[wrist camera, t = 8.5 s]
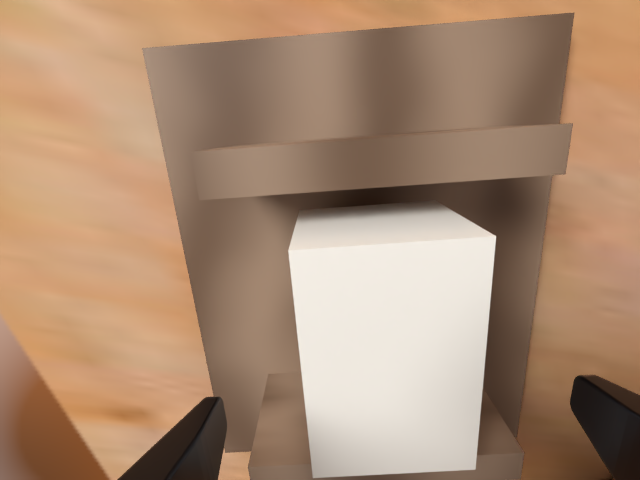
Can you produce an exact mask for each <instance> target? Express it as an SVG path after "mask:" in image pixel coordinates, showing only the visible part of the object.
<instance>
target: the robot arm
mask: <svg viewBox="0 0 640 480" xmlns="http://www.w3.org/2000/svg"><path fill="white" fill-rule="evenodd" d="M570 405H571V409H572V411H573V413H574V415H575V416H576V418H577V420H578V421H579V423H580V425H581V426H582V428H583V430H584V431H585V433H586V434H587V436H588V438H589V439H590V441H591V443H592V444H593V446H594V447H595V449H596V451H597V452H598V454H599V456H600V457H601V459H602V461H603V462H604V464H605V465H606V467H607V469H608V470H609V472H610V473H611V475H612V476H613V478H614V479H615V480H640V395H638V394H635V393H633V392H631V391H629V390H627V389H625V388H622V387H620V386H618V385H616V384H614V383H612V382H609V381H607V380H605V379H603V378H601V377H598V376H596V375H580V376H577V377H576V378H575V379H574V383H573V389H572V394H571V399H570ZM226 433H227V419H226V414H225V408H224V403H223V400H222V398H221V397H219V396H217V397H206V398H204V399H203V400H202V401H201V402H200V403H199V404H198V405H196V406H195V407H194V408H193V409H192V410H191V411H190V412H189V413H188V414H187V415H186V416H185V417H184V418H183V419H182V420H180V421H179V422H178V423H177V424H176V425H175V426H174V427H173V428H172V429H171V430H170V431H169V432H168V433H167V434H166V435H164V436H163V437H162V438H161V439H160V440H159V441H158V442H157V443H156V444H155V445H154V446H153V447H152V448H151V449H150V450H149V451H147V452H146V453H145V454H144V455H143V456H142V457H141V458H140V459H139V460H138V461H137V462H136V463H135V464H134V465H133V466H131V467H130V468H129V469H128V470H127V471H126V472H125V473H124V474H123V475H122V476H121V477H120V478H119V479H118V480H218V475H219V470H220V465H221V459H222V454H223V449H224V443H225V438H226Z"/></svg>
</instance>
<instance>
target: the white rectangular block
mask: <svg viewBox="0 0 640 480" xmlns="http://www.w3.org/2000/svg"><path fill="white" fill-rule="evenodd" d="M495 244H496V236H495V235H493V234H492V233H490V232H488V231H486V230H485V229H483V228H481V227H480V226H478V225H476V224H474V223H473V222H471V221H469V220H468V219H466V218H464V217H462V216H461V215H459V214H457V213H456V212H454V211H452V210H451V209H449V208H447V207H445V206H444V205H442V204H440V203H439V202H437V201H421V202H407V203H393V204H379V205H365V206H352V207H338V208H324V209H310V210H299V214H298V217H297V221H296V225H295V228H294V232H293V235H292V239H291V242H290V246H289V250H288V253H289V262H290V271H291V281H292V290H293V299H294V308H295V318H296V327H297V336H298V345H299V354H300V364H301V373H302V382H303V391H304V401H305V410H306V419H307V428H308V438H309V447H310V456H311V465H312V475H313V478H325V477H344V476H363V475H383V474H402V473H421V472H440V471H460V470H475V469H476V458H477V447H478V435H479V424H480V413H481V402H482V390H483V379H484V368H485V356H486V345H487V334H488V323H489V311H490V300H491V289H492V277H493V266H494V255H495Z"/></svg>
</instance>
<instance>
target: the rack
mask: <svg viewBox="0 0 640 480" xmlns="http://www.w3.org/2000/svg"><path fill="white" fill-rule="evenodd" d="M573 19H574V13H564V14H552V15H540V16H528V17H515V18H503V19H491V20H479V21H467V22H455V23H443V24H431V25H419V26H406V27H394V28H382V29H370V30H358V31H346V32H334V33H322V34H309V35H297V36H285V37H273V38H261V39H249V40H237V41H225V42H213V43H200V44H188V45H176V46H164V47H152V48H142V50H143V55H144V60H145V64H146V69H147V74H148V79H149V84H150V89H151V94H152V98H153V103H154V108H155V113H156V118H157V123H158V128H159V132H160V137H161V142H162V147H163V152H164V157H165V162H166V166H167V171H168V176H169V181H170V186H171V191H172V196H173V200H174V205H175V210H176V215H177V220H178V225H179V230H180V234H181V239H182V244H183V249H184V254H185V259H186V264H187V268H188V273H189V278H190V283H191V288H192V293H193V298H194V303H195V307H196V312H197V317H198V322H199V327H200V332H201V337H202V341H203V346H204V351H205V356H206V361H207V366H208V371H209V375H210V380H211V385H212V390H213V395H214V397H217V396H219V397H221V398H222V400H223V403H224V408H225V414H226V419H227V433H226V438H225V443H224V448H225V453H228V452H247V451H251V456H250V460H249V465H248V470H249V476H250V480H521V473H522V466H523V460H524V451H523V450H522V448H521V447H520V445H519V444H518V442H517V440H516V439H515V437H517V432H518V425H519V417H520V410H521V403H522V395H523V388H524V380H525V373H526V366H527V358H528V351H529V343H530V336H531V329H532V321H533V314H534V307H535V299H536V292H537V284H538V277H539V270H540V262H541V255H542V247H543V240H544V233H545V225H546V218H547V211H548V203H549V196H550V188H551V181H552V175H562V174H566V167H567V160H568V153H569V147H570V140H571V133H572V126H573V123H572V124H559V122H560V115H561V107H562V100H563V92H564V85H565V78H566V70H567V63H568V55H569V48H570V41H571V33H572V26H573ZM421 201H437V202H439V203H440V204H442V205H444V206H445V207H447V208H449V209H451V210H452V211H454V212H456V213H457V214H459V215H461V216H462V217H464V218H466V219H468V220H469V221H471V222H473V223H474V224H476V225H478V226H480V227H481V228H483V229H485V230H486V231H488V232H490V233H492V234H493V235H495V236H496V244H495V255H494V266H493V277H492V289H491V300H490V311H489V323H488V334H487V345H486V356H485V368H484V379H483V390H482V402H481V413H480V424H479V435H478V447H477V458H476V469H475V470H460V471H440V472H421V473H402V474H383V475H363V476H344V477H325V478H313V475H312V465H311V456H310V447H309V438H308V428H307V419H306V410H305V401H304V391H303V382H302V373H301V364H300V354H299V345H298V336H297V327H296V318H295V308H294V299H293V290H292V281H291V271H290V262H289V253H288V250H289V246H290V242H291V239H292V235H293V232H294V228H295V225H296V221H297V217H298V214H299V210H310V209H324V208H338V207H352V206H365V205H379V204H393V203H407V202H421Z"/></svg>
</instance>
